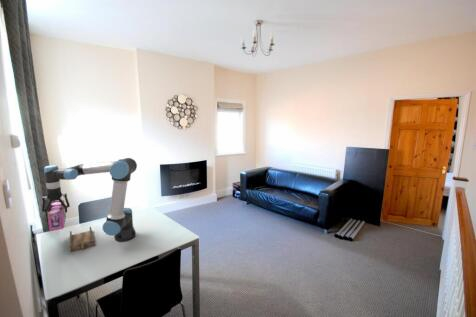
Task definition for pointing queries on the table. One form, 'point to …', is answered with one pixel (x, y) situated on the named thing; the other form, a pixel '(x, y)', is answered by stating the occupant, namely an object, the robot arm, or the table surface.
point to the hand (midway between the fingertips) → (57, 218)
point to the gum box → (56, 216)
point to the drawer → (81, 240)
